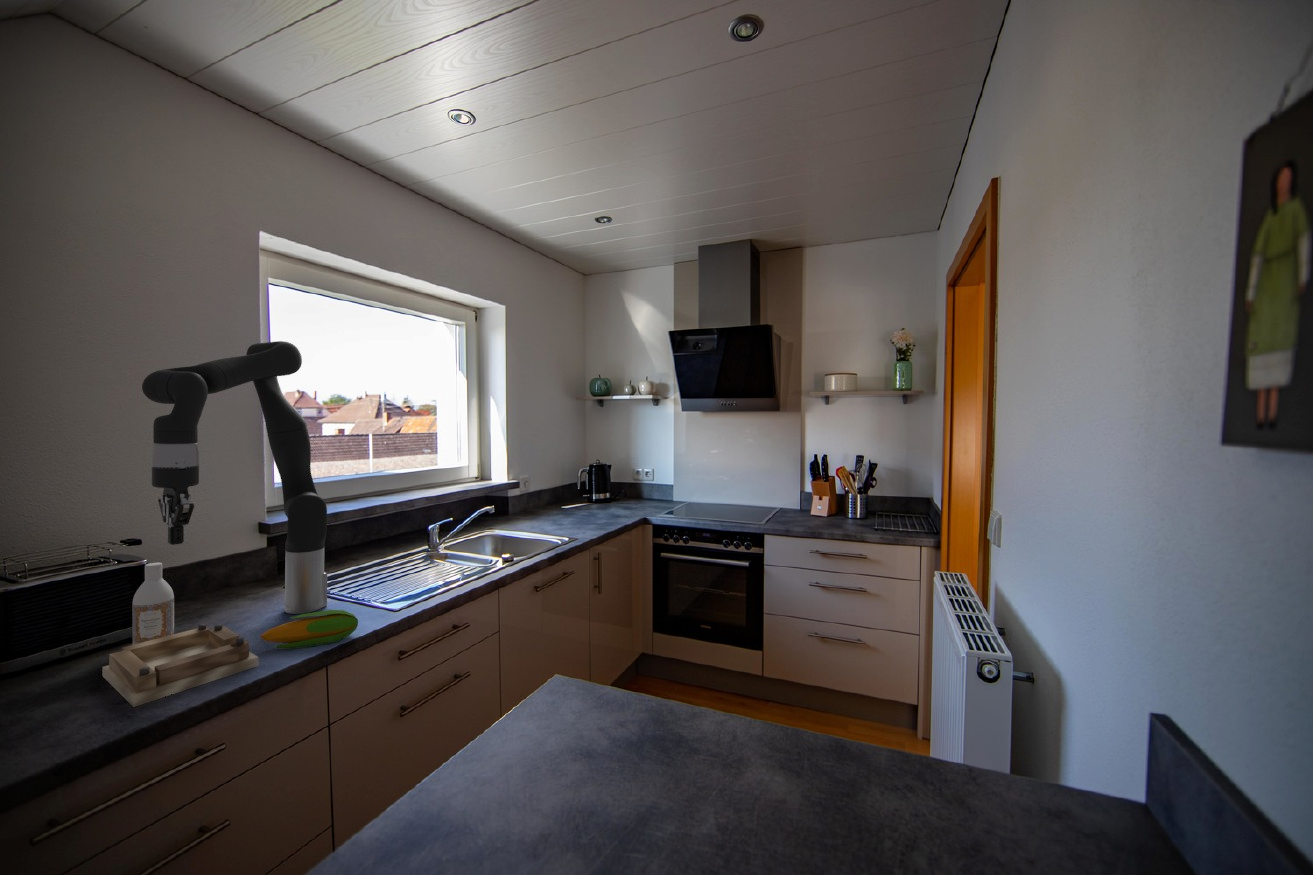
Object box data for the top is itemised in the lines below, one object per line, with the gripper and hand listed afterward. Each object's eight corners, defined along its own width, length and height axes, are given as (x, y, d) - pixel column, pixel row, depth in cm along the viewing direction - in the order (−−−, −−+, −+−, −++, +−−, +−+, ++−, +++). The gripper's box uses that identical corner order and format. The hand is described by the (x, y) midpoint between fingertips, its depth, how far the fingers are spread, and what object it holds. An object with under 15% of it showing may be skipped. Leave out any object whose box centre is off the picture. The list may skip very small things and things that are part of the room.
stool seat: (220, 642, 126) (221, 618, 126) (258, 665, 115) (258, 639, 115) (102, 676, 109) (102, 647, 109) (133, 706, 98) (133, 675, 98)
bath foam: (128, 658, 117) (128, 569, 116) (137, 646, 122) (137, 562, 122) (170, 651, 120) (170, 566, 120) (176, 640, 126) (176, 558, 125)
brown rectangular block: (245, 652, 117) (245, 634, 116) (251, 656, 115) (251, 637, 115) (154, 680, 104) (154, 660, 103) (160, 685, 102) (160, 664, 102)
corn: (358, 610, 129) (257, 624, 119) (358, 641, 129) (257, 658, 119) (358, 603, 136) (262, 615, 125) (357, 632, 135) (261, 647, 125)
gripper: (141, 462, 113) (142, 542, 113) (163, 467, 106) (163, 552, 106) (186, 460, 119) (186, 536, 120) (210, 465, 112) (209, 545, 113)
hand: (175, 543), depth 113 cm, fingers closed
